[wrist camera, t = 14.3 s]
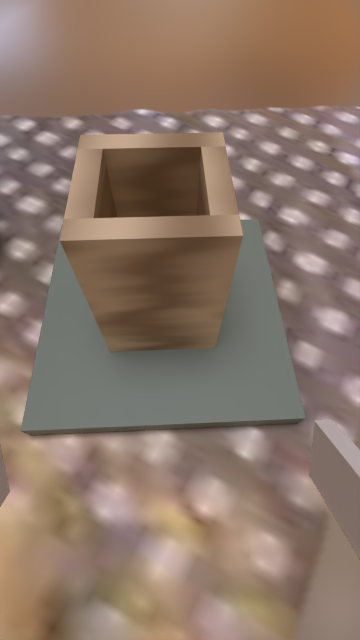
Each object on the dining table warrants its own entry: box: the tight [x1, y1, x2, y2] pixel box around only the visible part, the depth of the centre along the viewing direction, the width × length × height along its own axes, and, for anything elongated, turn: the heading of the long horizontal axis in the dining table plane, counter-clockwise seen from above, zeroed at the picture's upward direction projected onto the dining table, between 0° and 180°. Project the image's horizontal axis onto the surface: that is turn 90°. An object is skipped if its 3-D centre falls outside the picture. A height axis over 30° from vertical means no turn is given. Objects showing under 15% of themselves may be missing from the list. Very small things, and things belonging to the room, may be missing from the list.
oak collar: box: [60, 132, 243, 352], centre depth 19 cm, size 8×8×11 cm
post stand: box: [21, 220, 305, 435], centre depth 22 cm, size 18×18×8 cm
